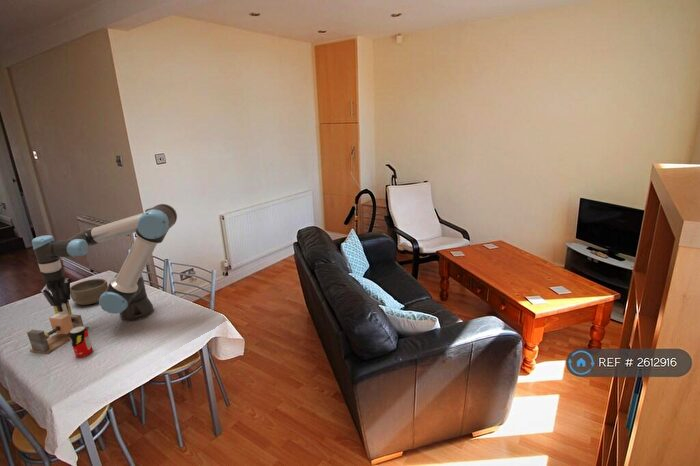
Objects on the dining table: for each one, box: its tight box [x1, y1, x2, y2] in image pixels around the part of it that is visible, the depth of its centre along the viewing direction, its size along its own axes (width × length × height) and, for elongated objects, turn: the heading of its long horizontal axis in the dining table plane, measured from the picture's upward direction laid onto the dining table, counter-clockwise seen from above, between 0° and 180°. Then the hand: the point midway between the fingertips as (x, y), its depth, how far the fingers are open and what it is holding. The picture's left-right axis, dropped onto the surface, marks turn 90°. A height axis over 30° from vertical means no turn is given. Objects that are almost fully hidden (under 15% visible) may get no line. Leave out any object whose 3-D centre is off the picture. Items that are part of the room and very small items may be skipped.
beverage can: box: [69, 325, 93, 358], centre depth 155 cm, size 6×6×12 cm
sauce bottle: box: [52, 300, 73, 315], centre depth 179 cm, size 6×6×20 cm
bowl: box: [70, 278, 109, 306], centre depth 201 cm, size 17×18×10 cm
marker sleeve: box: [48, 314, 74, 334], centre depth 168 cm, size 7×4×8 cm, turn 78°
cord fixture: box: [26, 313, 89, 355], centre depth 166 cm, size 20×10×10 cm, turn 168°
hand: (65, 316), depth 170 cm, fingers closed
